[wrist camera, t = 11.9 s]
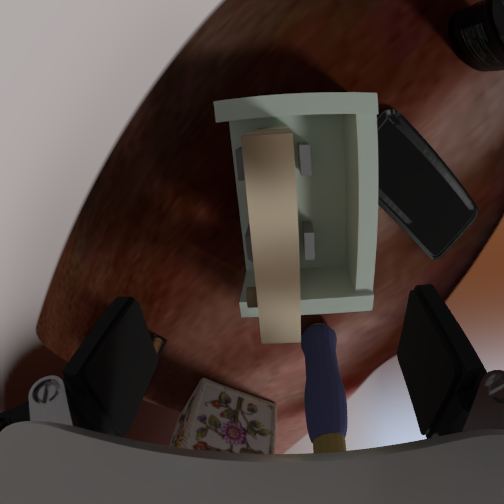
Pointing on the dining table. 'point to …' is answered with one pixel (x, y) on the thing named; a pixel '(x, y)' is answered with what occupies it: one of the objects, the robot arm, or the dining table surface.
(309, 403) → the rubber mallet
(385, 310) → the dining table surface
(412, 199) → the phone
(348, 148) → the cabinet
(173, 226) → the dining table surface
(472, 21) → the supplement bottle
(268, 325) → the wooden block
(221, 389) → the decorative jar
